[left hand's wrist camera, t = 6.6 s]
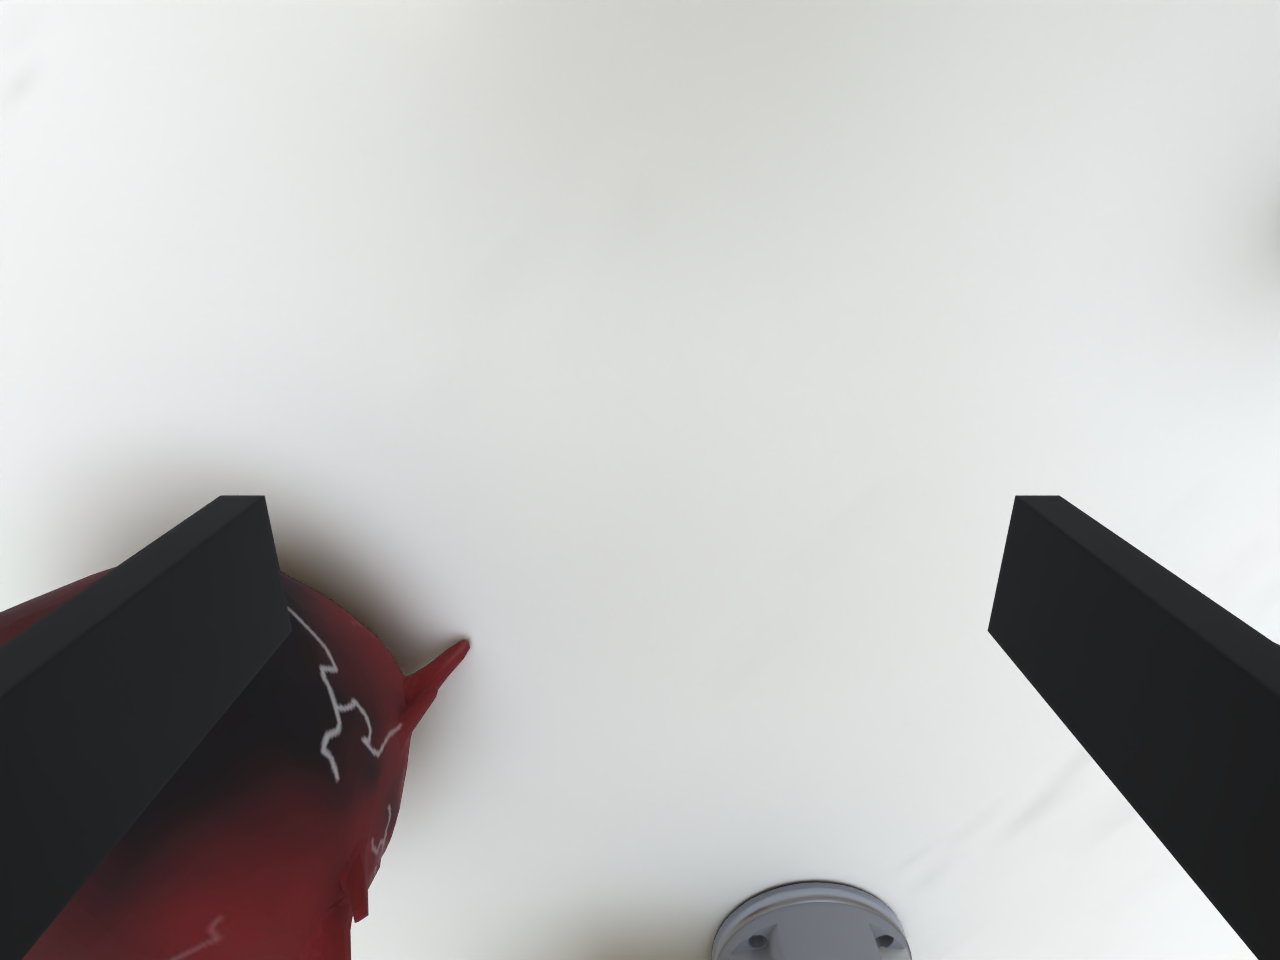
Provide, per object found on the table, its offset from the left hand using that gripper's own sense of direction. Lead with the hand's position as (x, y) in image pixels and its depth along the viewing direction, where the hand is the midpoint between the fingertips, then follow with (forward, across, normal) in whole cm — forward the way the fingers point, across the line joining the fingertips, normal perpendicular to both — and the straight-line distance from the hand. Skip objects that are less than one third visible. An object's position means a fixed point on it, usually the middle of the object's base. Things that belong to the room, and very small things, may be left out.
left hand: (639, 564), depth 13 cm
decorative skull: (+28, +25, +23) cm, 44 cm away
